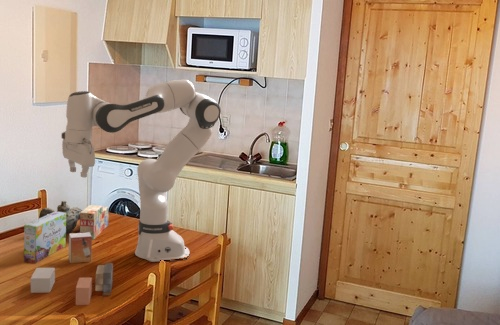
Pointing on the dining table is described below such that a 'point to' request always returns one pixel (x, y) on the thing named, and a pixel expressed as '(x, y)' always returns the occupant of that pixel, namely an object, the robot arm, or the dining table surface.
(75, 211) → the teapot
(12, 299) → the dining table surface
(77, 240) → the small box
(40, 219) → the snack box
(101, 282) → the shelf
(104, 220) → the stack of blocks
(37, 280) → the gray block
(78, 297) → the pink rectangular block
